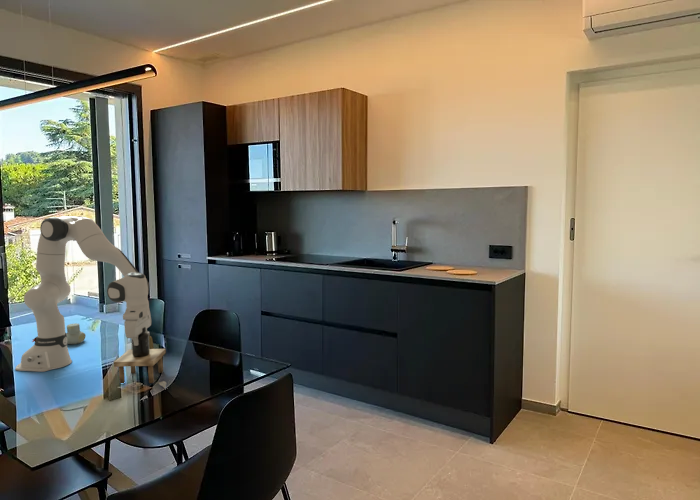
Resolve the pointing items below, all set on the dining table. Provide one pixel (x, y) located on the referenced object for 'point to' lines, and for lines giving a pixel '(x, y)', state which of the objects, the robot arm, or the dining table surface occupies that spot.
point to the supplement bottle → (141, 345)
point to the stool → (140, 363)
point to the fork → (162, 383)
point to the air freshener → (74, 334)
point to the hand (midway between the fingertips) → (140, 342)
